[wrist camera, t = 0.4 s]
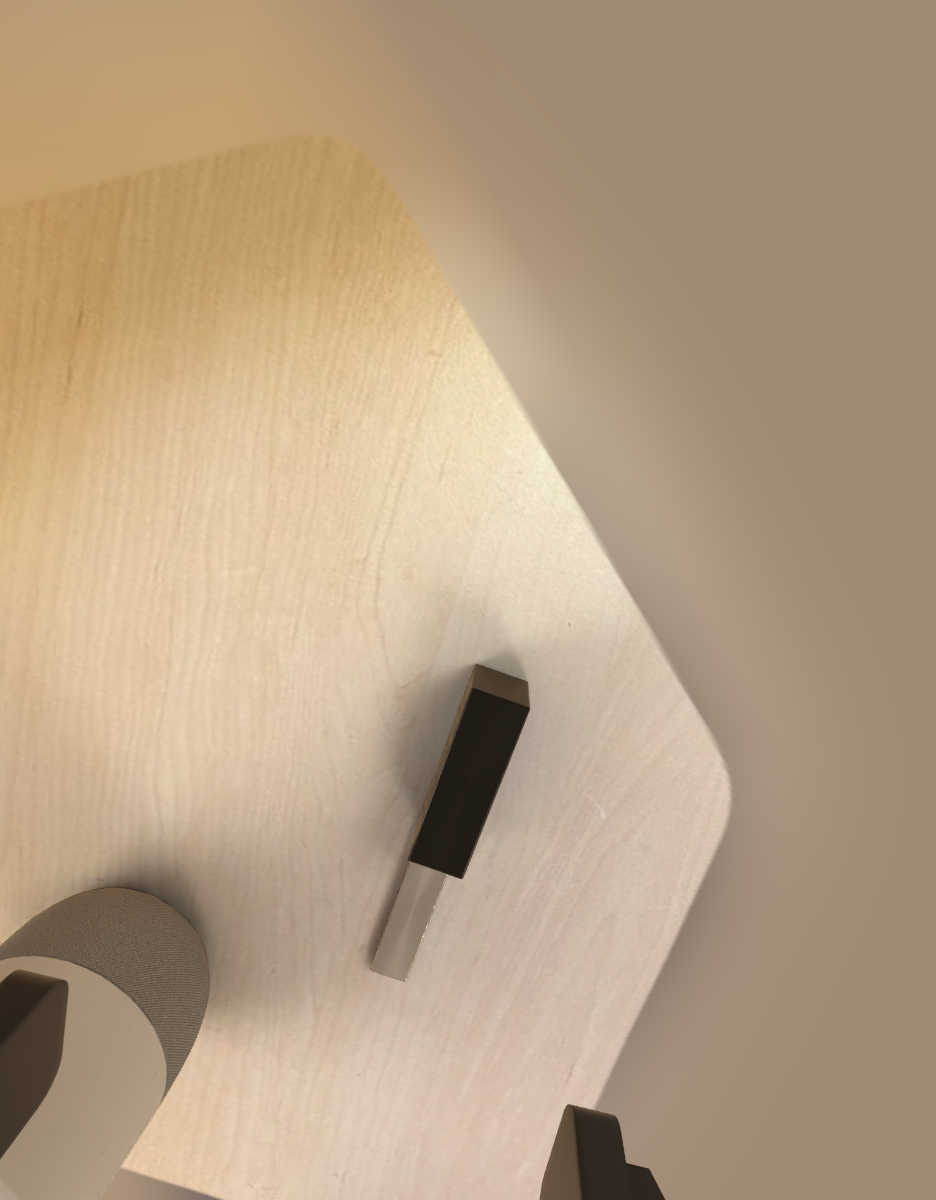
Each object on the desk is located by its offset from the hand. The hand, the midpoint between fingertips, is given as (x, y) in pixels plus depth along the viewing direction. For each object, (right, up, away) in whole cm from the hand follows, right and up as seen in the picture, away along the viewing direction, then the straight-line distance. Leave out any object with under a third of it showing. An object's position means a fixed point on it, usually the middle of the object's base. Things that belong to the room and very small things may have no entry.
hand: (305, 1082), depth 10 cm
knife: (+2, -2, +19) cm, 19 cm away
